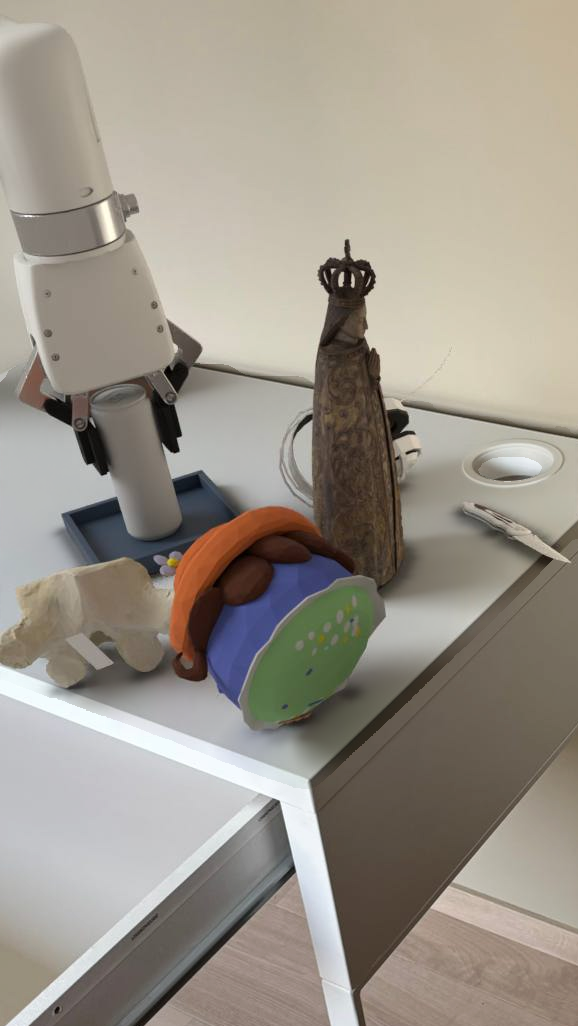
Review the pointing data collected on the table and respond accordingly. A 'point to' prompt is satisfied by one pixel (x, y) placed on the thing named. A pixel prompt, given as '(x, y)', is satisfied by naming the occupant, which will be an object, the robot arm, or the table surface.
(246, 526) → the toy
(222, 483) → the table surface
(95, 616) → the decorative object
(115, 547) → the tray
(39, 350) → the robot arm
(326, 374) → the statue
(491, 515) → the pocket knife
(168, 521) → the beverage can
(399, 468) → the headphones
